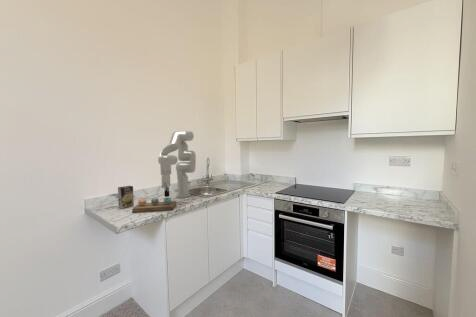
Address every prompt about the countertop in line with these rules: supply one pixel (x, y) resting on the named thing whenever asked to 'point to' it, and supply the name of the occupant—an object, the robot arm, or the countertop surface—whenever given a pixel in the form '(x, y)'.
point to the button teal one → (167, 200)
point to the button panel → (154, 207)
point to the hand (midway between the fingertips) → (167, 196)
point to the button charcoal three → (154, 201)
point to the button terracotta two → (142, 201)
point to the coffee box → (125, 197)
